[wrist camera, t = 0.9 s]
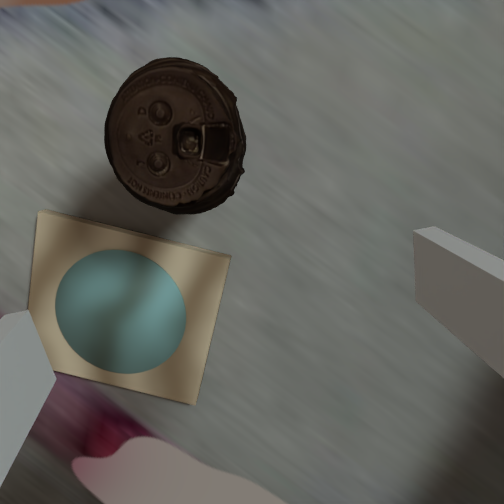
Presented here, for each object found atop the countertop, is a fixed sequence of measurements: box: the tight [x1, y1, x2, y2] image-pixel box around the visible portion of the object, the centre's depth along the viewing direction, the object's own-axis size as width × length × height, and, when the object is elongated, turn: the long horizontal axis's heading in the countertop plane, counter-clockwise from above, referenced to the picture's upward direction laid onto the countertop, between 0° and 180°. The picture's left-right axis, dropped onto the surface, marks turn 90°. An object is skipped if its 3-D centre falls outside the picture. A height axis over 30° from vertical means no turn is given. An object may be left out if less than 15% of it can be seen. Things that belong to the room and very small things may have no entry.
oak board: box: [28, 209, 231, 405], centre depth 38 cm, size 17×15×1 cm
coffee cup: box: [104, 57, 246, 214], centre depth 28 cm, size 9×8×13 cm
